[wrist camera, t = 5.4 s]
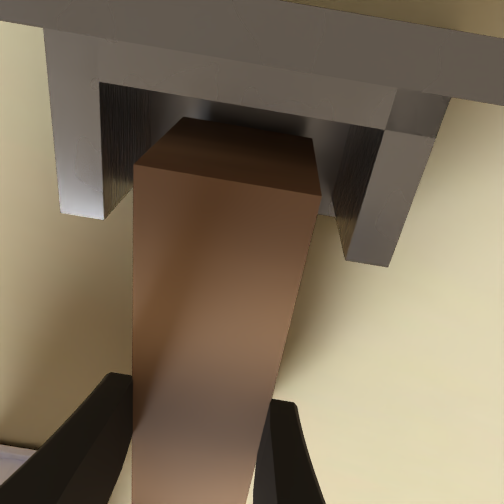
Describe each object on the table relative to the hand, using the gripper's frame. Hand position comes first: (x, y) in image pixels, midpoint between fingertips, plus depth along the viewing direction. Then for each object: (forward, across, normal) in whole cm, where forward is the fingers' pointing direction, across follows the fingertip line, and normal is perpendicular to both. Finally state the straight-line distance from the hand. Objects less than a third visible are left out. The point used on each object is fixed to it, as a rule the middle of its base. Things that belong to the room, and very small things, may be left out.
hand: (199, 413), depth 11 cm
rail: (+4, 0, 0) cm, 4 cm away
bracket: (+5, 0, -6) cm, 8 cm away
